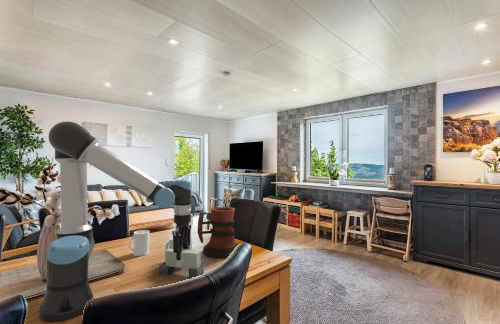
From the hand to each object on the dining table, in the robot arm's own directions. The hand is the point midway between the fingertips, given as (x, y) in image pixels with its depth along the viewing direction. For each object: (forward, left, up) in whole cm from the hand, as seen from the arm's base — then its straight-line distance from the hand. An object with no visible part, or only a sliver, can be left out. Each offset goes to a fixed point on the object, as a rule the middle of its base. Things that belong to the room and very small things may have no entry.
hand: (181, 264), depth 119 cm
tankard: (+32, -5, -4) cm, 33 cm away
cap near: (0, -7, -4) cm, 8 cm away
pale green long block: (0, 0, -1) cm, 1 cm away
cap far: (0, +8, -4) cm, 9 cm away
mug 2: (+10, +8, -4) cm, 14 cm away
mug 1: (+15, +35, -4) cm, 39 cm away
